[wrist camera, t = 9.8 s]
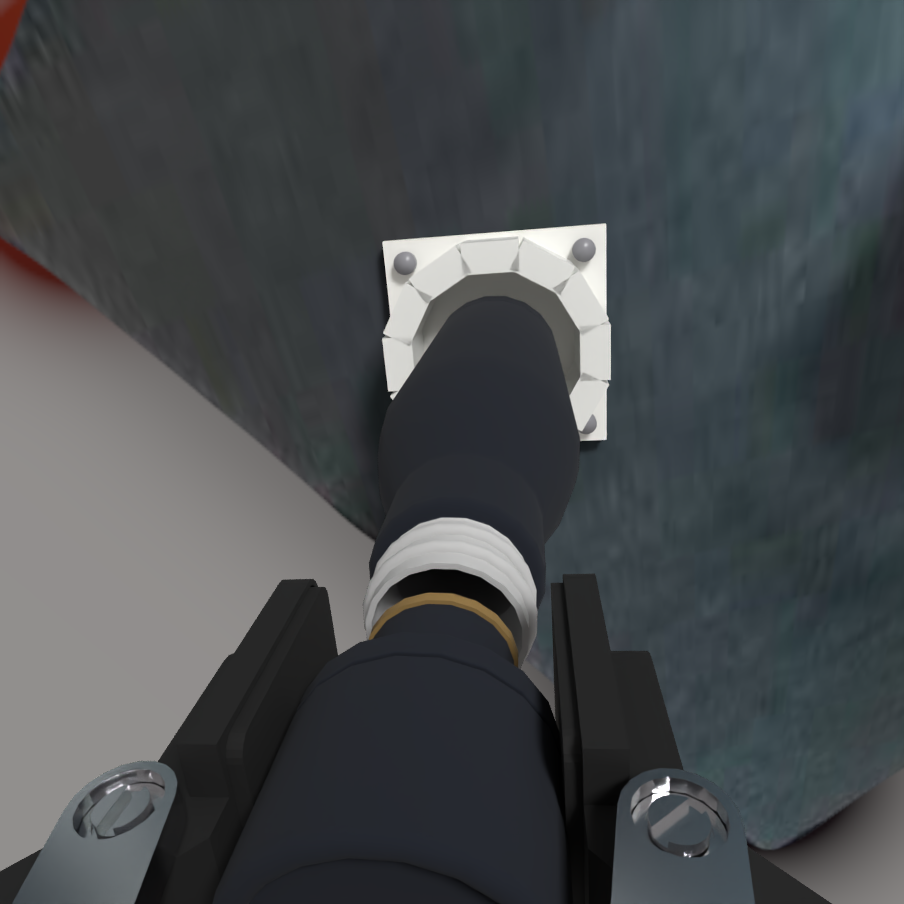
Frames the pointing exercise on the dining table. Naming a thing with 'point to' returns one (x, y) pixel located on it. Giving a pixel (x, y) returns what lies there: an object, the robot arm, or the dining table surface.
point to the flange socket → (516, 276)
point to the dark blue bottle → (438, 654)
